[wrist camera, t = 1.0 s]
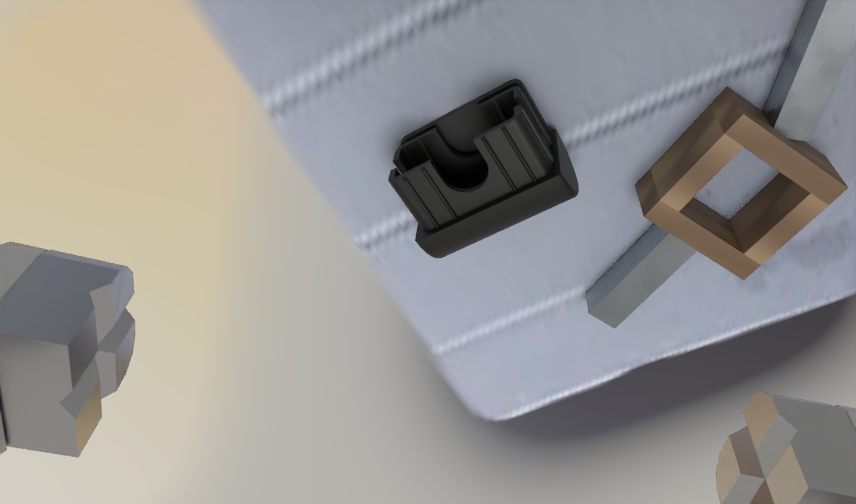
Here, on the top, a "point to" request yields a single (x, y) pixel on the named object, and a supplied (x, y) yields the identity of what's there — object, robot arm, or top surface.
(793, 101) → the steel shafts
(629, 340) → the top surface
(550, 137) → the end cap
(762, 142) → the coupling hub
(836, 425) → the robot arm
